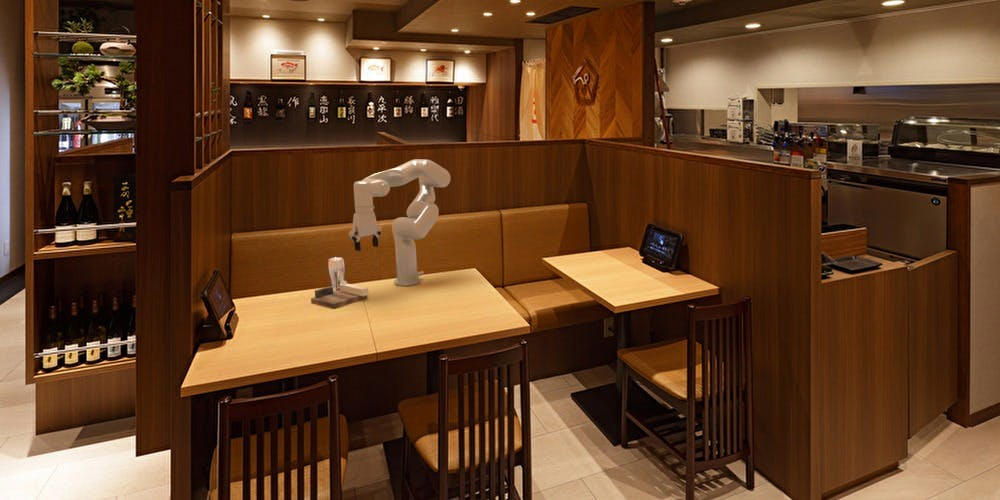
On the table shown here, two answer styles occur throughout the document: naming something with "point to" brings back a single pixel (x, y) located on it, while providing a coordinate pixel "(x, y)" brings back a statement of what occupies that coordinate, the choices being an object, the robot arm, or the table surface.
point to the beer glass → (336, 272)
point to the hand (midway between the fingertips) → (366, 248)
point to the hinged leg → (353, 289)
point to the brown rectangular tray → (334, 298)
